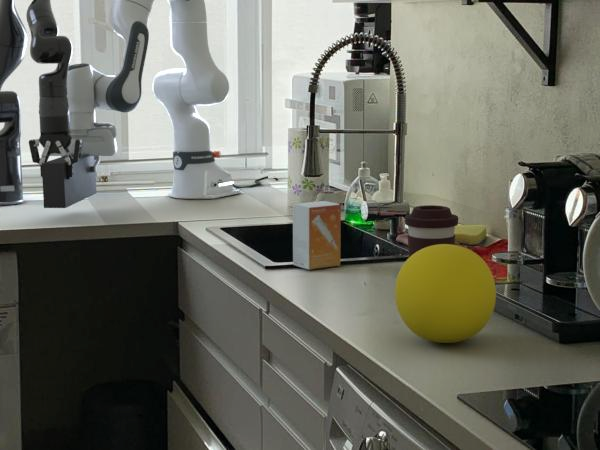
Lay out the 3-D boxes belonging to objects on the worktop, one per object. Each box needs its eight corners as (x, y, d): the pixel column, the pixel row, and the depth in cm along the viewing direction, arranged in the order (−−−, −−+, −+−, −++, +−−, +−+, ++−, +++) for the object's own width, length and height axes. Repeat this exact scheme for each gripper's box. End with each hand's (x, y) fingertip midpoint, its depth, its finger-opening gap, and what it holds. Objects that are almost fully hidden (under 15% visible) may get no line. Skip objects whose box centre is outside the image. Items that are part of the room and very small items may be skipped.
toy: (462, 323, 171) (464, 233, 168) (512, 348, 157) (515, 250, 154) (379, 333, 165) (379, 240, 163) (423, 359, 151) (424, 258, 149)
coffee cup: (400, 280, 202) (400, 204, 200) (450, 279, 203) (451, 203, 201) (409, 292, 193) (410, 212, 190) (462, 291, 193) (463, 211, 191)
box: (65, 208, 270) (63, 163, 268) (43, 208, 271) (41, 163, 269) (96, 193, 298) (94, 152, 296) (76, 193, 298) (74, 152, 296)
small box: (309, 270, 213) (308, 207, 211) (292, 265, 218) (291, 203, 216) (341, 265, 217) (341, 203, 215) (324, 260, 222) (323, 200, 220)
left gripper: (85, 113, 273) (88, 177, 275) (32, 113, 274) (35, 177, 277) (77, 115, 265) (80, 181, 268) (22, 115, 267) (25, 180, 269)
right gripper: (119, 121, 293) (120, 170, 295) (48, 122, 295) (50, 170, 297) (113, 123, 287) (114, 173, 289) (40, 123, 289) (43, 173, 291)
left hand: (57, 178), depth 272 cm, fingers closed on box, 5 cm apart
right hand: (81, 172), depth 293 cm, fingers closed on box, 6 cm apart
